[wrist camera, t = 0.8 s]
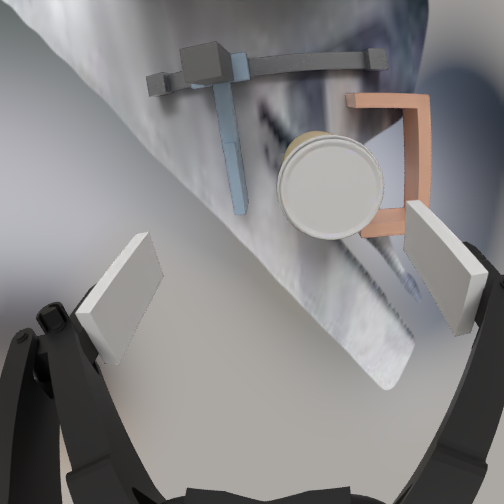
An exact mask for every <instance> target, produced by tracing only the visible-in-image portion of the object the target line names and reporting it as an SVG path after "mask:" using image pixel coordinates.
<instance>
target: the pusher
mask: <svg viewBox="0 0 504 504" xmlns="http://www.w3.org/2000/svg"><path fill="white" fill-rule="evenodd" d="M180 56H181V62H182V68H183V75H184V81H185V83H189V84H191V85H192V89H199V88H204V87H209V86H213V91H214V97H215V103H216V110H217V116H218V122H219V128H220V134H221V140H222V146H223V152H224V154H225V160H226V166H227V172H228V178H229V184H230V190H231V196H232V202H233V208H234V214H235V215H242V214H246V210H247V206H248V196H247V189H246V183H245V176H244V169H243V163H242V156H241V150H240V141H239V135H238V128H237V122H236V115H235V109H234V103H233V96H232V90H231V83H233V82H239V81H246V80H251V79H250V72H249V66H248V59H247V54H246V53H245V52H241V53H235V54H230V53H228V52H227V51H226V50H225V49H224V48H223V47H222V46H221V45H220V44H219V43H217V42H211V43H206V44H201V45H196V46H192V47H187V48H183V49H180Z"/></svg>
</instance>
